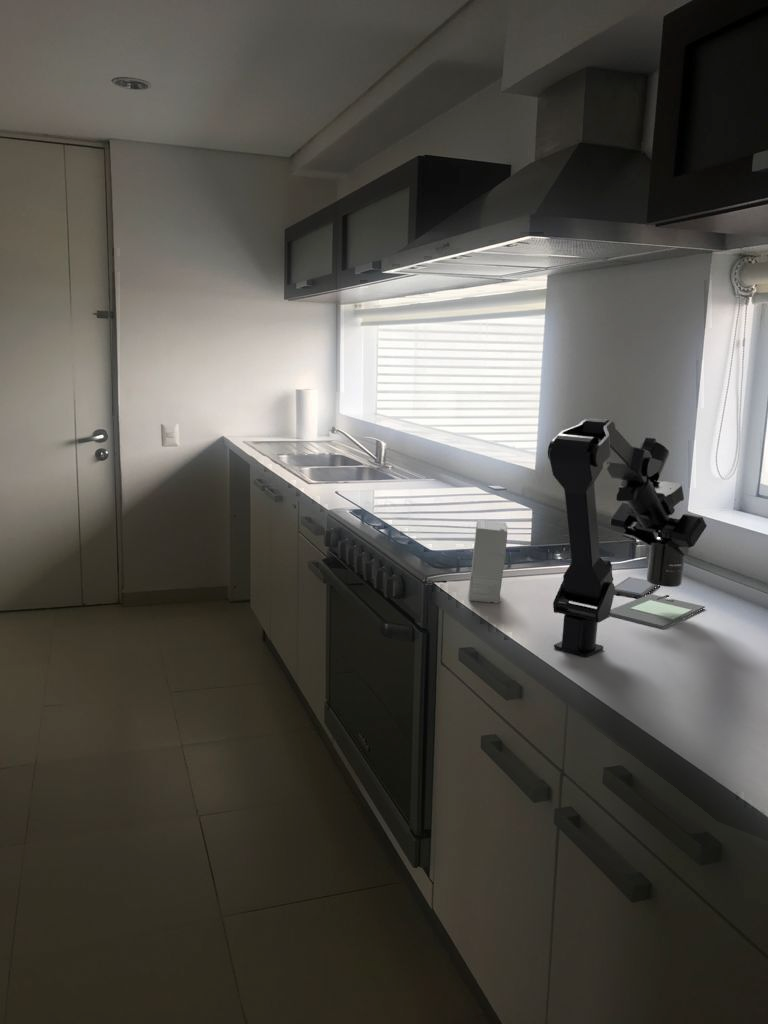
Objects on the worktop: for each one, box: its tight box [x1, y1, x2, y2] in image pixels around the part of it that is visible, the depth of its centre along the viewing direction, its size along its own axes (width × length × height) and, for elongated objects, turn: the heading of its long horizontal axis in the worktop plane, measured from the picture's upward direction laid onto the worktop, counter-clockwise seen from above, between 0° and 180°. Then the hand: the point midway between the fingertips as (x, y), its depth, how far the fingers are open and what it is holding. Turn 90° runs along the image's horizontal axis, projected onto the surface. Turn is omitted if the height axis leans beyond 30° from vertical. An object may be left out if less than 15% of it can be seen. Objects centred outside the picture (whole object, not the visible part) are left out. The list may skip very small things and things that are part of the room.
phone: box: [614, 576, 659, 599], centre depth 192 cm, size 14×7×1 cm, turn 148°
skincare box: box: [468, 519, 509, 604], centre depth 179 cm, size 8×7×16 cm
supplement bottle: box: [646, 529, 686, 588], centre depth 172 cm, size 7×7×12 cm
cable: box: [614, 591, 670, 600], centre depth 186 cm, size 7×9×1 cm
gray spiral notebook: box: [609, 593, 706, 630], centre depth 175 cm, size 20×12×1 cm, turn 138°
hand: (671, 550), depth 173 cm, fingers closed on supplement bottle, 7 cm apart
